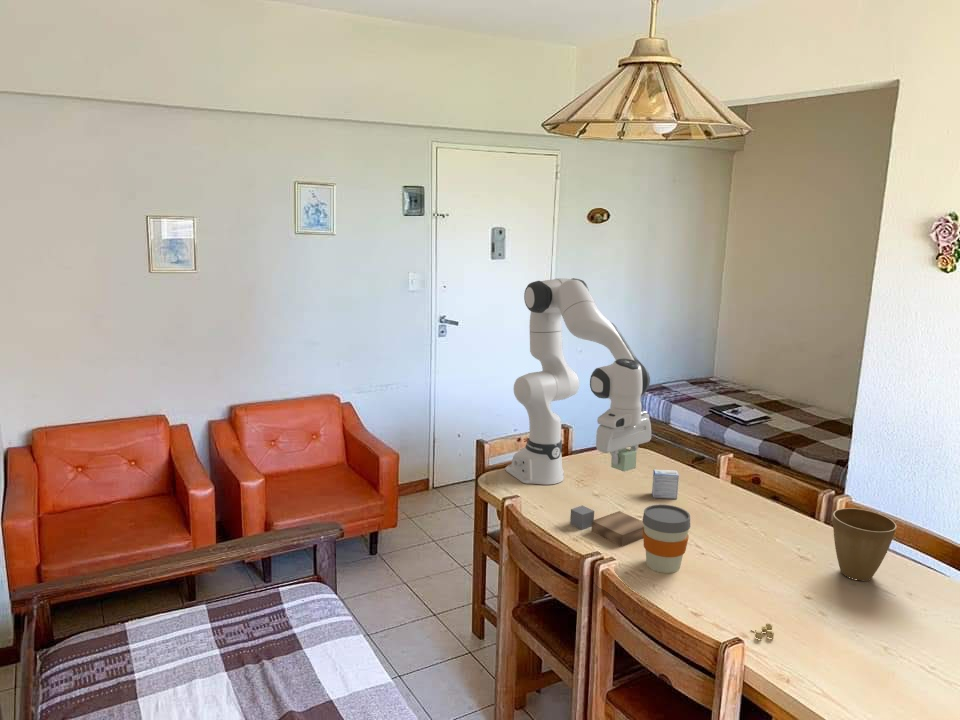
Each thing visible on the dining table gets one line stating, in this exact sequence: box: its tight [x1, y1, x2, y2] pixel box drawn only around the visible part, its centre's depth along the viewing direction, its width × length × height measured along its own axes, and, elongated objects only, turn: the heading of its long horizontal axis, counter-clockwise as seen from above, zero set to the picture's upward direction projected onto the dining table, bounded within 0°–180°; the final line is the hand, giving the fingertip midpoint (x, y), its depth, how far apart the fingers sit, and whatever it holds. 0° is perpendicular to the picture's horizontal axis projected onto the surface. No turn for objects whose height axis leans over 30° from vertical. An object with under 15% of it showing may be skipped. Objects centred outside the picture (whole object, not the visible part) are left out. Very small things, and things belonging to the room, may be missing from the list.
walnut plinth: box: [590, 510, 644, 548], centre depth 219 cm, size 12×12×4 cm
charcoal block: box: [569, 505, 595, 531], centre depth 224 cm, size 5×5×5 cm
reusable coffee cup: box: [642, 504, 691, 574], centre depth 199 cm, size 12×13×15 cm
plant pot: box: [832, 507, 898, 581], centre depth 196 cm, size 15×15×16 cm
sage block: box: [610, 448, 637, 473], centre depth 216 cm, size 5×5×5 cm
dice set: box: [754, 622, 775, 640], centre depth 169 cm, size 5×5×2 cm
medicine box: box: [651, 469, 680, 500], centre depth 247 cm, size 8×4×9 cm, turn 84°
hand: (623, 461), depth 216 cm, fingers closed on sage block, 5 cm apart
